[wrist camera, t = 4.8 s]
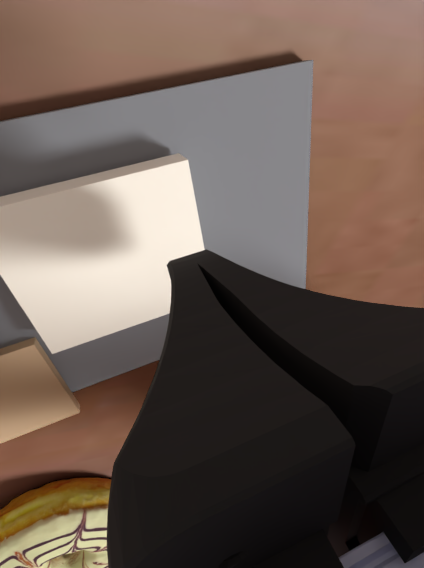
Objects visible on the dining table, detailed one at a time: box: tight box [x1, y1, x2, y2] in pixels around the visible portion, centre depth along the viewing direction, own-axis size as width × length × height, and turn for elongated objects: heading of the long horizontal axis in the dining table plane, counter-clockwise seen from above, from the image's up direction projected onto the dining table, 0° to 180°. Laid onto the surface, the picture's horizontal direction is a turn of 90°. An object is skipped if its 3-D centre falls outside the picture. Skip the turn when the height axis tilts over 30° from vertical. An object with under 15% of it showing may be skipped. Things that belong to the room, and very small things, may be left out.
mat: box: [0, 60, 313, 392], centre depth 14 cm, size 12×18×1 cm, turn 99°
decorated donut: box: [0, 478, 111, 568], centre depth 21 cm, size 10×11×4 cm
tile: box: [0, 153, 205, 354], centre depth 12 cm, size 6×2×7 cm
